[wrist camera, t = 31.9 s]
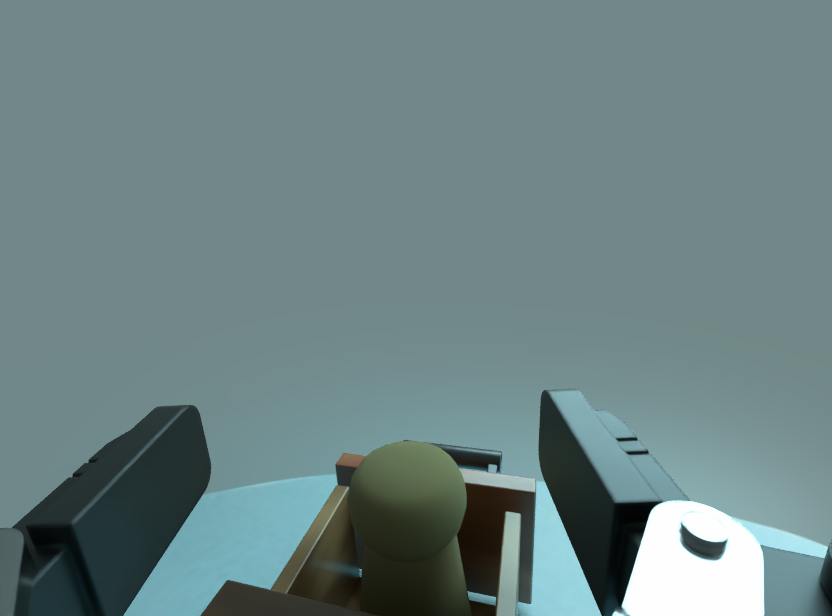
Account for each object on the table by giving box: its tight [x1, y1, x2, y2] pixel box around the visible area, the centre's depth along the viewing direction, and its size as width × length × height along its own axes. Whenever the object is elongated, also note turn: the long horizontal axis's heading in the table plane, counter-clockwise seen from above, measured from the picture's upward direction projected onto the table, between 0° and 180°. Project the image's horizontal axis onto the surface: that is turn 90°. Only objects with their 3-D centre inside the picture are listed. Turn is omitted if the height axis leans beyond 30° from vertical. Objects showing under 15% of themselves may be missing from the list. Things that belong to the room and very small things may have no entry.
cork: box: [347, 441, 472, 616], centre depth 20 cm, size 6×6×11 cm
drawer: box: [271, 440, 536, 616], centre depth 22 cm, size 19×11×8 cm, turn 165°
